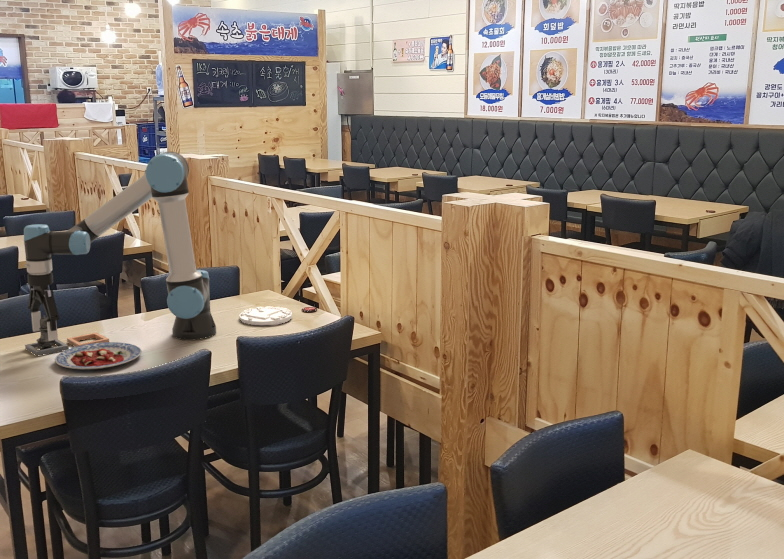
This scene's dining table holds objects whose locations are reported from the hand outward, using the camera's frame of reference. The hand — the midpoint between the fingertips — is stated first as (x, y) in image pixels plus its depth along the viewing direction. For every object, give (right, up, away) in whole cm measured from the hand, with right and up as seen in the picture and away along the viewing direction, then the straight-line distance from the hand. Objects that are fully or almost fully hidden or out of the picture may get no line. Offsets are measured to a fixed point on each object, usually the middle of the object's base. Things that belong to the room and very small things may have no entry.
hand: (45, 335), depth 252 cm
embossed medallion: (+66, +3, +40) cm, 78 cm away
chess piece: (0, -5, +1) cm, 5 cm away
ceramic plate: (+21, -8, -9) cm, 24 cm away
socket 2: (+11, -3, +9) cm, 14 cm away
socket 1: (0, -5, +1) cm, 5 cm away
